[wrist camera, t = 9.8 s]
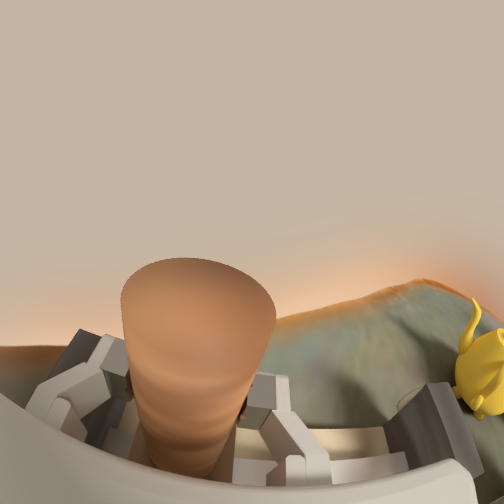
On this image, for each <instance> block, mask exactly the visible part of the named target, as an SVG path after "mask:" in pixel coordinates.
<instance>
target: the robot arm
mask: <svg viewBox="0 0 504 504" xmlns="http://www.w3.org/2000/svg"><path fill="white" fill-rule="evenodd" d="M133 395H134V393H133V388H132V383H131V377H130V372H129V366H128V359H127V353H126V346H125V340H122V339H119V338H116V337H113V336H111V335H108V334H105V335H104V336H102V338H101V340H100V341H99V343H98V345H97V346H96V348H95V350H94V351H93V353H92V355H91V357H90V358H89V360H88V362H87V363H85V362H83V363H81V364H79V365H77V366H75V367H73V368H71V369H69V370H67V371H65V372H63V373H61V374H59V375H57V376H55V377H53V378H51V379H49V380H47V381H45V382H43V383H41V384H39V385H38V386H37V388H36V390H35V392H34V393H33V395H32V397H31V399H30V400H29V402H28V404H27V406H26V408H25V409H23V408H21V407H20V406H18V405H17V404H15V403H14V402H12V401H11V400H10V399H8V398H7V397H5V396H4V395H3V394H1V393H0V504H478V501H477V495H476V490H475V485H474V481H473V478H472V476H471V474H470V472H469V471H468V470H467V469H466V468H464V467H463V466H462V465H461V464H460V463H459V462H457V461H456V460H454V459H452V458H448V459H444V460H441V461H439V462H436V463H433V464H430V465H426V466H423V467H420V468H416V469H413V470H409V471H405V472H401V473H397V474H393V475H389V476H384V477H379V478H374V479H368V480H362V481H356V482H348V483H340V484H332V476H331V467H330V458H329V454H328V452H327V451H326V450H325V449H324V448H323V446H322V445H321V444H320V443H319V442H318V440H317V439H316V438H315V437H314V436H313V434H312V433H311V432H310V431H309V429H308V428H307V427H306V426H305V424H304V423H303V422H302V421H301V419H300V418H299V417H298V416H297V414H296V413H295V412H292V411H291V407H290V393H289V379H288V376H286V375H277V374H272V373H265V372H256V375H255V377H254V379H253V382H252V384H251V387H250V389H249V391H248V394H247V396H246V398H245V401H244V403H243V405H242V408H241V410H240V412H239V414H238V419H237V427H238V428H245V429H251V430H259V431H258V432H259V433H260V435H261V437H262V439H263V440H264V442H265V444H266V446H267V447H268V449H269V451H270V452H271V454H272V456H273V457H274V459H275V460H276V462H277V464H278V465H277V466H276V467H275V468H274V469H273V470H271V471H270V472H269V473H268V474H267V475H266V486H257V485H244V484H234V483H225V482H218V481H211V480H205V479H199V478H194V477H189V476H184V475H179V474H175V473H171V472H167V471H163V470H159V469H155V468H152V467H148V466H145V465H142V464H138V463H135V462H132V461H129V460H126V459H124V458H121V457H118V456H115V455H113V454H110V453H107V452H105V451H102V450H100V449H98V448H95V447H93V446H91V445H88V444H86V443H84V441H85V438H86V435H87V433H88V432H87V430H86V428H85V427H84V425H83V424H82V422H81V421H80V419H81V418H83V417H84V416H85V415H87V414H88V413H90V412H91V411H92V410H94V409H95V408H97V407H98V406H99V405H101V404H102V403H103V402H105V401H106V400H108V399H109V398H110V397H111V396H113V397H116V398H119V399H122V400H125V401H128V402H131V400H132V398H133Z"/></svg>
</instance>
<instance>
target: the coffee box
mask: <svg viewBox="0 0 504 504" xmlns="http://www.w3.org/2000/svg"><path fill="white" fill-rule="evenodd" d="M489 504H504V496H502V497H500V498H498V499H497V500H495V501H493V502H491V503H489Z"/></svg>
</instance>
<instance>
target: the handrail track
mask: <svg viewBox="0 0 504 504" xmlns="http://www.w3.org/2000/svg"><path fill="white" fill-rule="evenodd" d="M101 338H102V337H101V336H98V335H95V334H92V333H90V332H87V331H84V330H82V329H79V330H78V332H77V333H76V335H75V336H74V338H73V339H72V341H71V342H70V344H69V345H68V347H67V348H66V350H65V351H64V353H63V354H62V356H61V357H60V359H59V361H58V362H57V364H56V365H55V367H54V369H53V370H52V372H51V374H50V375H49V377H48V379H47V380H49V379H51V378H53V377H55V376H57V375H59V374H61V373H63V372H65V371H67V370H69V369H71V368H73V367H75V366H77V365H79V364H81V363H83V362H85V363H87V362H88V360H89V358H90V357H91V355H92V353H93V351H94V350H95V348H96V346H97V345H98V343H99V341H100V340H101ZM47 380H46V381H47ZM397 410H398V413H397V414H396V415H395V416H394V417H393V418H392V419H391V420H389V421H388V422H387V423H386V424H385V425H384V426H381V427H370V428H353V429H309V431H310V432H311V433H312V434H313V436H314V437H315V438H316V439H317V440H318V442H319V443H320V444H321V445H322V446H323V448H324V449H325V450H326V451H327V452H328V454H329V458H330V467H331V476H332V484H340V483H348V482H356V481H362V480H368V479H374V478H379V477H384V476H389V475H393V474H397V473H401V472H405V471H409V470H413V469H416V468H420V467H423V466H426V465H430V464H433V463H436V462H439V461H441V460H444V459H448V458H452V459H454V460H456V461H457V462H459V463H460V464H461V465H462V466H463V467H464V468H466V469H467V470H468V471H469V472H470V474H471V476H472V478H473V479H475V478H476V477H478V476H480V475H481V474H483V473H484V469H483V465H482V462H481V459H480V456H479V454H478V451H477V448H476V445H475V442H474V440H473V437H472V435H471V432H470V430H469V427H468V425H467V422H466V420H465V417H464V415H463V413H462V410H461V408H460V406H459V404H458V401H457V399H456V397H455V395H454V393H453V391H452V389H451V387H450V385H449V382H440V383H427V384H426V385H425V386H422V387H419V388H417V389H415V390H413V391H411V392H410V393H408V394H407V395H405V396H404V397H403V398H402V399H401V400H400V401H399V402H398V404H397ZM80 421H81V422H82V424H83V425H84V427H85V428H86V430H87V432H88V433H87V435H86V438H85V441H84V443H86V444H88V445H91V446H93V447H95V448H98V449H100V450H102V451H105V452H107V453H110V454H113V455H115V456H118V457H121V458H124V459H126V460H128V456H129V453H130V450H131V446H132V443H133V440H134V436H135V433H136V430H137V427H138V424H139V421H140V419H139V415H138V411H137V407H136V402H135V399H133V398H132V400H131V402H128V401H125V400H122V399H119V398H116V397H113V396H111V397H110V398H109V399H108V400H106V401H105V402H103V403H102V404H101V405H99V406H98V407H97V408H95V409H94V410H92V411H91V412H90V413H88V414H87V415H85V416H84V417H83V418H81V419H80ZM258 431H259V430H251V429H245V428H238V427H237V426H236V439H235V451H234V463H233V475H232V483H234V484H244V485H257V486H266V475H267V474H268V473H269V472H270V471H271V470H273V469H274V468H275V467H276V466H277V465H278V464H277V462H276V460H275V459H274V457H273V456H272V454H271V452H270V451H269V449H268V447H267V446H266V444H265V442H264V440H263V439H262V437H261V435H260V433H259V432H258Z"/></svg>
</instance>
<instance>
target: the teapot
mask: <svg viewBox="0 0 504 504" xmlns="http://www.w3.org/2000/svg"><path fill="white" fill-rule="evenodd" d="M472 302H473V314H472V317H471V319H470V321H469V323H468V324H467V326H466V327H465V329H464V331H463V332H462V334H461V337H460V340H459V345H458V349H459V356H458V358H457V360H456V366H455V382H456V386H454V387H452V388H451V389H452V391H453V393H454V395H455V397H456V398H457V399H460V398H461V397H462V398H463V399H464V401H465V402H466V403H467V404H468V405H469V407H470V408H471V409H472V410H474V416H475V418H476V419H477V420H479V421H481V420H482V419H483V417H484V415H486V416H494V415H499V414H502V413H504V329H496V330H493V331H491V332H489V333H487V334H484V335H482V336H480V337H479V338H477V339H475V340H474V339H473V332H474V329H475V327H476V326H477V324H478V322H479V320H480V317H481V309H480V307H479V305H478V304H477V302H476V301H475V300H474V299H473V298H472Z"/></svg>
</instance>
